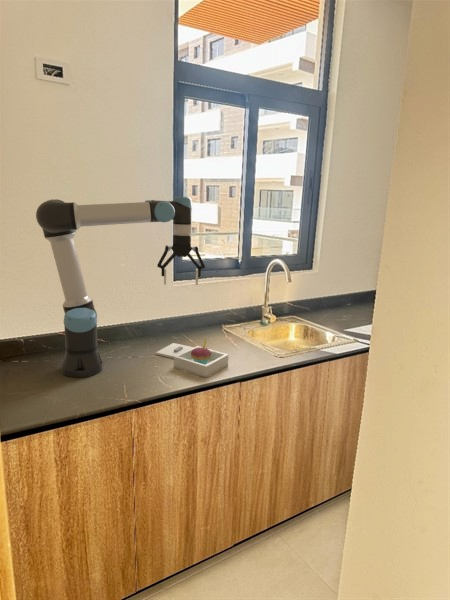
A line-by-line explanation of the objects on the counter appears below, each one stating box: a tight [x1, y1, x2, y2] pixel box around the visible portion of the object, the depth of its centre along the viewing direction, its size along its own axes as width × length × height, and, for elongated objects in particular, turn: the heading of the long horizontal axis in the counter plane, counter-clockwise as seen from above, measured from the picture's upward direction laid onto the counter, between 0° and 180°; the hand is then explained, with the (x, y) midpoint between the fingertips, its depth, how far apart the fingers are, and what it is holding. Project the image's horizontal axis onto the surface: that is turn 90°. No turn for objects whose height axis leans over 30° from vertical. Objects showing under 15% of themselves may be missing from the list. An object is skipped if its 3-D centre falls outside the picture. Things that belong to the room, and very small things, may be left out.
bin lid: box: [155, 342, 195, 359], centre depth 183 cm, size 14×14×2 cm
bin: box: [173, 345, 229, 379], centre depth 169 cm, size 16×16×5 cm
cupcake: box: [191, 338, 212, 365], centre depth 168 cm, size 9×8×12 cm
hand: (180, 284), depth 178 cm, fingers open, 13 cm apart
